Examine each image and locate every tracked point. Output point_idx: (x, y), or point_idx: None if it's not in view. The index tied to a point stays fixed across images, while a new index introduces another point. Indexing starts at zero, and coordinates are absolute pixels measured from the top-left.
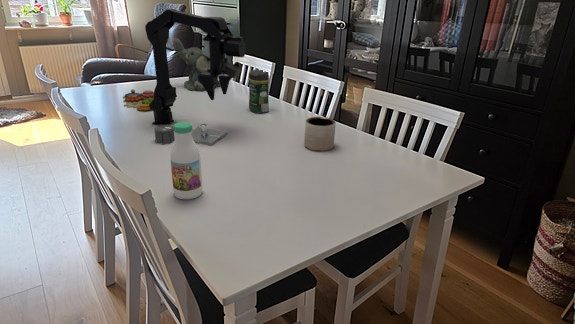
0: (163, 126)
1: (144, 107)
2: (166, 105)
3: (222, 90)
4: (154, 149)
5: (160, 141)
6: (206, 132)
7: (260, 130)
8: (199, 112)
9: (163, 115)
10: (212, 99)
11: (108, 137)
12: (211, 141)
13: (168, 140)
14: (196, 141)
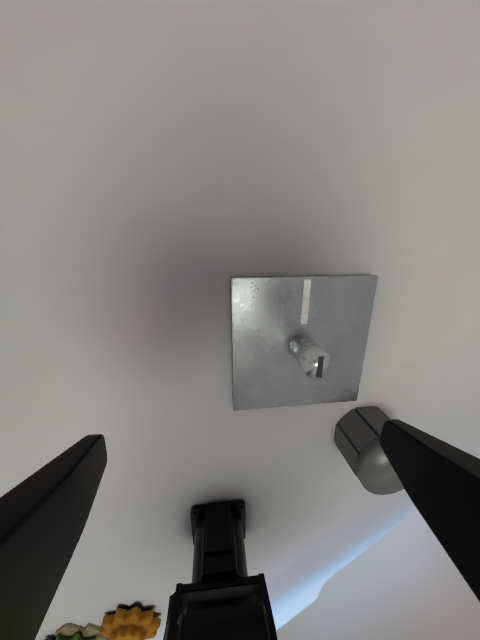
0: (381, 476)
1: (142, 629)
2: (235, 597)
3: (82, 519)
4: (428, 414)
5: None
6: (312, 340)
7: (105, 130)
8: None
9: (239, 547)
10: (401, 431)
11: (370, 541)
12: (363, 285)
13: (386, 416)
14: (364, 339)
